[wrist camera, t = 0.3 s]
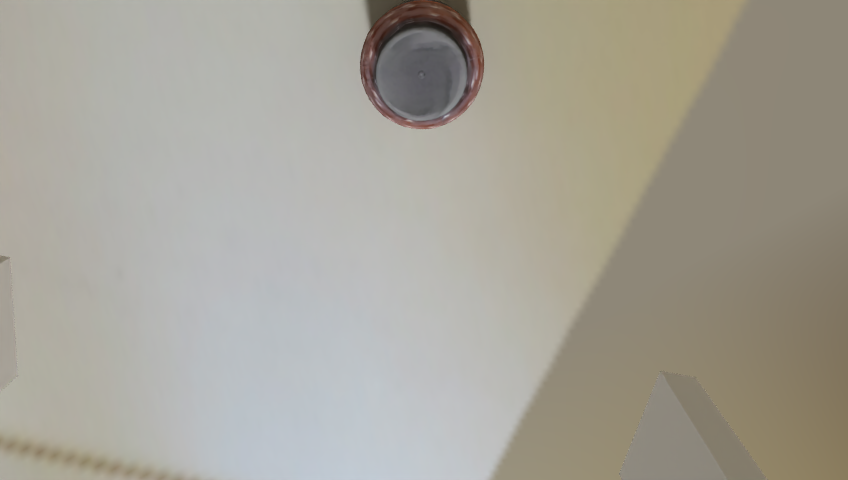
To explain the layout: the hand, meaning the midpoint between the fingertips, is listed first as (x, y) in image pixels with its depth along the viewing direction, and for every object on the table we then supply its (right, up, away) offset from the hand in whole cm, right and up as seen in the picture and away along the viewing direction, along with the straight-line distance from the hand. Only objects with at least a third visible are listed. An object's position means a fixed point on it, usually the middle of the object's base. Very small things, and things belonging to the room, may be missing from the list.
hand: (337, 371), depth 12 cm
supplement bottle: (+2, +14, +24) cm, 28 cm away
